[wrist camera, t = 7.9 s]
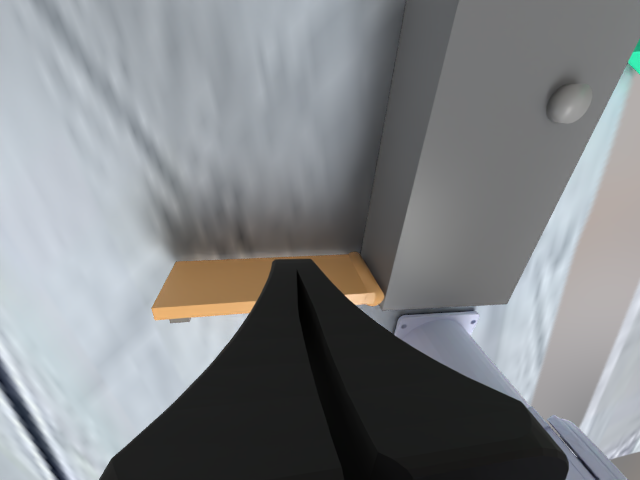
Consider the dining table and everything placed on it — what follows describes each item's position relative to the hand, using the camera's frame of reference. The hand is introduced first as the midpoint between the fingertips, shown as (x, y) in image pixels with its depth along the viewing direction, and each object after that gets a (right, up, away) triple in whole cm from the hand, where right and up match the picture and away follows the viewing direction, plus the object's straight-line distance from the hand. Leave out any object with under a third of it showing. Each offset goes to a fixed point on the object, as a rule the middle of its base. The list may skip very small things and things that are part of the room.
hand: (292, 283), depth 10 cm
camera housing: (+9, +7, +9) cm, 14 cm away
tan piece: (-2, 0, +10) cm, 10 cm away
